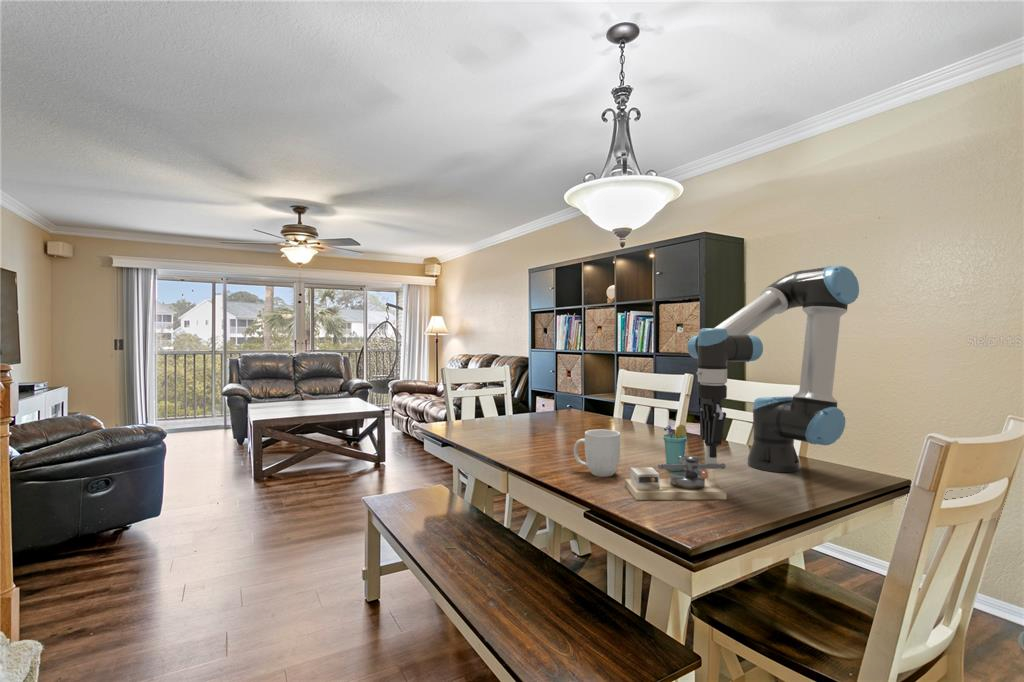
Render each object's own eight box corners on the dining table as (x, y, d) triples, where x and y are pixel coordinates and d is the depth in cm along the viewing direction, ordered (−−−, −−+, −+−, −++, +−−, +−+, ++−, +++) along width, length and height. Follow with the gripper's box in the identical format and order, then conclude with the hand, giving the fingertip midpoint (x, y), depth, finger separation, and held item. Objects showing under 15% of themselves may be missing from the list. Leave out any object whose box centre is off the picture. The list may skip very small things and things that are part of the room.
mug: (568, 474, 152) (567, 433, 152) (579, 466, 162) (579, 427, 161) (615, 481, 145) (615, 437, 145) (624, 471, 155) (624, 430, 155)
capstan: (711, 474, 144) (711, 449, 144) (742, 494, 125) (742, 466, 125) (647, 474, 143) (647, 449, 143) (669, 495, 124) (669, 466, 124)
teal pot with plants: (677, 476, 149) (677, 427, 149) (653, 472, 154) (653, 425, 154) (693, 467, 160) (693, 421, 160) (670, 463, 165) (670, 419, 165)
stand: (707, 485, 140) (707, 464, 140) (726, 499, 128) (726, 476, 128) (625, 486, 140) (624, 465, 140) (636, 499, 128) (636, 477, 128)
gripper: (690, 381, 141) (689, 461, 142) (707, 386, 128) (706, 475, 129) (715, 381, 141) (714, 461, 142) (736, 386, 128) (735, 475, 129)
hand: (711, 468), depth 135 cm, fingers closed
